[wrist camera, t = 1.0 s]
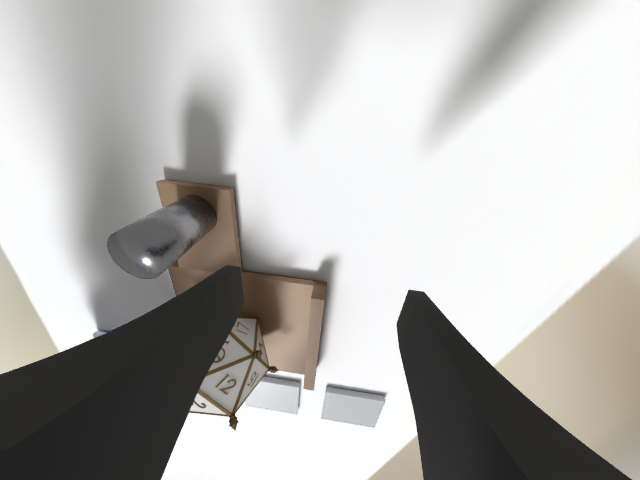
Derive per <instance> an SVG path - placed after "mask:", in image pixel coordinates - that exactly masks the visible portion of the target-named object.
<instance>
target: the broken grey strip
mask: <svg viewBox="0 0 640 480" xmlns="http://www.w3.org/2000/svg"><path fill="white" fill-rule="evenodd" d="M299 389H300V382H295V381H289V380H283V379H277V378H271V377H265V376H264V377H263V378H262V379H261V381H260V382H259V383H258V385H257V386H256V387H255V388H254V390H253V391H252V392H251V394H250V395H249V396H248V397H247V399H246V400H245V401H246V406H250V407H256V408H262V409H268V410H274V411H280V412H285V413H291V414H297V413H298V405H299ZM384 403H385V397H384V396H382V395H376V394H370V393H364V392H357V391H351V390H345V389H339V388H333V387H326V391H325V397H324V403H323V409H322V417H321V419H327V420H333V421H338V422H344V423H350V424H356V425H362V426H368V427H375V425H376V423H377V420H378V418H379V415H380V413H381V410H382V408H383V406H384Z"/></svg>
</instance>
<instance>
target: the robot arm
mask: <svg viewBox="0 0 640 480" xmlns="http://www.w3.org/2000/svg"><path fill="white" fill-rule="evenodd" d="M243 304H244V295H243V286H242V278H241V269H240V267H238V266H230V265H226V266H224V267H223V268H221V269H219V270H218V271H216V272H215V273H213V274H211V275H210V276H208V277H207V278H205V279H204V280H202V281H201V282H199V283H197V284H196V285H194V286H193V287H191V288H189V289H188V290H186V291H185V292H183V293H181V294H180V295H178V296H176V297H175V298H173V299H171V300H169V301H168V302H166V303H164V304H162V305H161V306H159V307H157V308H156V309H154V310H152V311H150V312H148V313H146V314H144V315H143V316H141V317H139V318H137V319H135V320H133V321H131V322H129V323H127V324H125V325H122V326H120V327H118V328H116V329H114V330H112V331H110V332H101V331H96V332H95V333H94V334H93V337H94V339H91V340H89V341H87V342H84V343H82V344H80V345H77V346H75V347H73V348H70V349H68V350H65V351H63V352H60V353H58V354H55V355H53V356H50V357H48V358H45V359H42V360H39V361H37V362H34V363H31V364H29V365H26V366H23V367H20V368H18V369H15V370H12V371H9V372H6V373H3V374H0V480H161V478H162V475H163V473H164V470H165V468H166V465H167V463H168V460H169V458H170V456H171V453H172V451H173V448H174V446H175V443H176V441H177V438H178V436H179V434H180V432H181V429H182V427H183V425H184V422H185V420H186V418H187V415H188V413H189V411H190V408H191V406H192V404H193V402H194V400H195V397H196V395H197V393H198V391H199V389H200V386H201V384H202V382H203V380H204V379H205V377H206V375H207V373H208V371H209V369H210V367H211V366H212V364H213V362H214V360H215V359H216V357H217V355H218V353H219V352H220V350H221V348H222V346H223V345H224V343H225V341H226V339H227V337H228V336H229V334H230V332H231V330H232V328H233V327H234V325H235V323H236V321H237V318H238V316H239V314H240V311H241V309H242V306H243ZM397 332H398V342H399V349H400V353H401V358H402V362H403V367H404V371H405V375H406V379H407V383H408V388H409V392H410V396H411V400H412V405H413V409H414V414H415V419H416V426H417V433H418V440H419V446H420V454H421V462H422V469H423V477H424V480H632V479H630V478H628V477H627V476H626V475H625V474H623V473H622V472H621V471H619V470H618V469H616V468H615V467H614V466H613V465H611V464H610V463H608V462H607V461H606V460H605V459H603V458H602V457H601V456H599V455H598V454H597V453H595V452H594V451H593V450H591V449H590V448H589V447H587V446H586V445H585V444H583V443H582V442H581V441H580V440H578V439H577V438H576V437H574V436H573V435H572V434H571V433H569V432H568V431H567V430H566V429H564V428H563V427H562V426H560V425H559V424H558V423H557V422H556V421H555V420H553V419H552V418H551V417H550V416H548V415H547V414H546V413H545V412H543V411H542V410H541V409H540V408H538V407H537V406H536V405H535V404H534V403H533V402H532V401H530V400H529V399H528V398H527V397H526V396H525V395H523V394H522V393H521V392H520V391H519V390H518V389H517V388H516V387H514V386H513V385H512V384H511V383H510V382H509V381H508V380H507V379H505V377H503V376H502V375H501V374H500V373H499V372H498V371H497V370H496V369H495V368H494V367H493V366H492V365H491V364H490V363H489V362H488V361H487V360H486V359H485V358H484V357H483V356H482V355H481V354H480V353H479V352H478V351H477V350H476V349H475V348H474V347H473V346H472V345H471V344H470V343H469V342H468V341H467V340H466V339H465V338H464V337H463V336H462V335H461V333H460V332H459V331H458V330H457V329H456V328H455V327H454V326H453V325H452V323H451V322H450V321H449V320H448V319H447V318H446V317H445V316H444V314H443V313H442V312H441V311H440V310H439V309H438V307H437V306H436V305H435V304H434V303H433V302H432V301H431V299H430V298H429V297H428V296H427V295H426V294H425V293H424V292H422V291H414V290H408V293H407V296H406V299H405V302H404V304H403V307H402V310H401V313H400V316H399V319H398V321H397Z"/></svg>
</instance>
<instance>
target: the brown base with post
mask: <svg viewBox="0 0 640 480" xmlns="http://www.w3.org/2000/svg"><path fill="white" fill-rule="evenodd" d="M156 184H157V188H158V192H159V195H160V199H161V203H162V206H163V208H161V209H159V210H157V211H155V212H154V213H152V214H150V215H148V216H146V217H144V218H142V219H140V220H138V221H136V222H134V223H132V224H131V225H129V226H127V227H125V228H123V229H121V230H119V231H117V232H115V233H113V234H112V235H111V236H110V237H109V239H108V242H107V247H108V251H109V253H110V255H111V257H112V258H113V260H114V261H115V262H116V263H117V264H118V265H119V266H120V267H121V268H122V269H123V270H125V271H126V272H128V273H129V274H131V275H134V276H136V277H139V278H144V279H152V278H156V277H158V276H159V275H160V274H162V273H163V272H164V271H165V270H166V269H167V268H168V269H169V273H170V276H171V279H172V283H173V286H174V289H175V293H176V296H178V295H180V294H181V293H183V292H185V291H186V290H188V289H189V288H191V287H193V286H194V285H196V284H197V283H199V282H201V281H202V280H204V279H205V278H207V277H208V276H210V275H211V274H213V273H215V272H216V271H218V270H219V269H221V268H223V267H224V266H226V265H230V266H238V267H240V269H241V278H242V286H243V295H244V304H243V306H242V309H241V311H240V314H239V316H241V317H256V318H259V324H260V328H261V332H262V337H263V341H264V345H265V349H266V354H267V358H268V362H269V366H276V368H277V369H278V370H279V371H285V372H292V373H298V374H304V375H305V378H304V389H308V390H314V384H315V376H316V368H317V360H318V352H319V343H320V335H321V327H322V319H323V310H324V302H325V294H326V285H327V283H326V282H319V281H311V280H304V279H297V278H289V277H282V276H275V275H267V274H260V273H252V272H245V271H242V266H241V256H240V247H239V238H238V229H237V219H236V210H235V201H234V192H233V188H231V187H223V186H214V185H205V184H196V183H188V182H179V181H170V180H160V181H157V182H156ZM175 261H178V262H175Z"/></svg>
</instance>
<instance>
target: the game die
mask: <svg viewBox="0 0 640 480" xmlns="http://www.w3.org/2000/svg"><path fill="white" fill-rule="evenodd" d="M268 371H270V372H271V373H272V372H273V373H275V372H277V371H279V370H278V369H277V368H276V366H269V362H268V358H267V354H266V349H265V345H264V341H263V337H262V332H261V328H260V324H259V318H256V317H241V316H238V318H237V321H236V323H235V325H234V327H233V328H232V330H231V332H230V334H229V336H228V337H227V339H226V341H225V343H224V345H223V346H222V348H221V350H220V352H219V353H218V355H217V357H216V359H215V360H214V362H213V364H212V366H211V367H210V369H209V371H208V373H207V375H206V377H205V379H204V380H203V382H202V384H201V386H200V389H199V391H198V393H197V395H196V397H195V400H194V402H193V404H192V406H191V408H190V411H189V413H200V414H210V415H220V416H229V417H230V421H229V422H230V425H229V426H231V427H232V428H233V429H234V430H235V429H236V426H237V423H238V421H237V417H236V416H235V413H236V412H237V410H238V409H239V408H240V406H241V405H242V404H243V403H244V401H245V400H246V399H247V397H248V396H249V395H250V394H251V392H252V391H253V390H254V388H255V387H256V386H257V385H258V383H259V382H260V381H261V379H262V378H263V377H264V376H265V374H266V373H267V372H268Z"/></svg>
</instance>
